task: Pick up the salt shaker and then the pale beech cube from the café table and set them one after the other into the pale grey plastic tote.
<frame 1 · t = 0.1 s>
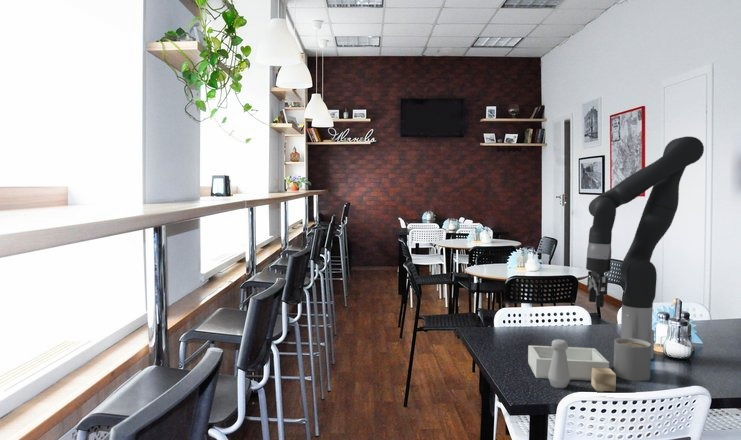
hand: (595, 304, 178), 17 cm above the table, tool pointing down, fingers open, 8 cm apart
tote: (566, 371, 161), on the table
coffee mug: (634, 374, 160), on the table
beech cube: (603, 388, 148), on the table
salt shaker: (558, 386, 149), on the table
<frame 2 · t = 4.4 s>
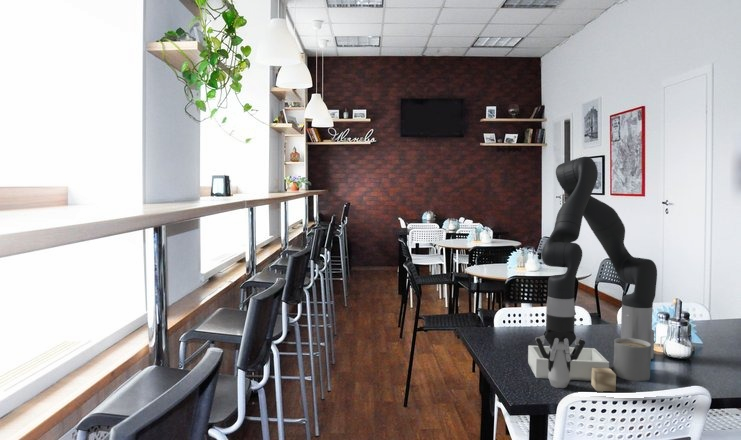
hand: (558, 373, 149), 4 cm above the table, tool pointing down, fingers closed on salt shaker, 3 cm apart
salt shaker: (558, 386, 149), on the table, touching gripper
everything else where it was.
when the fingers open (6 cm above the table, at t = 8.8 s): salt shaker drops 1 cm, resting on tote.
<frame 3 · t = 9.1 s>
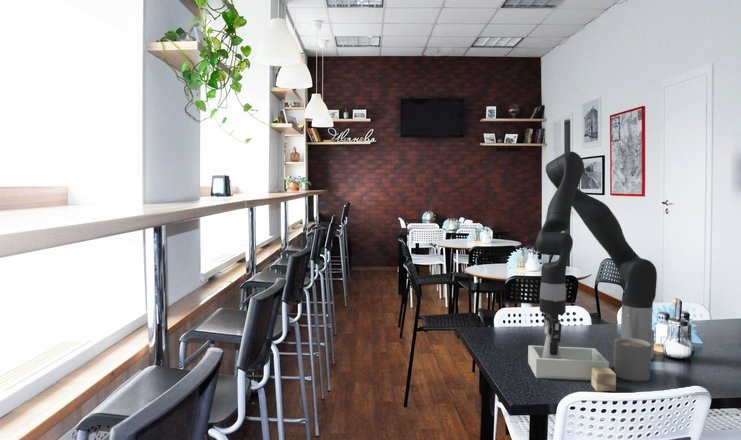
hand: (551, 351, 162), 6 cm above the table, tool pointing down, fingers open, 5 cm apart
salt shaker: (551, 369, 162), resting on tote
everything else where it was.
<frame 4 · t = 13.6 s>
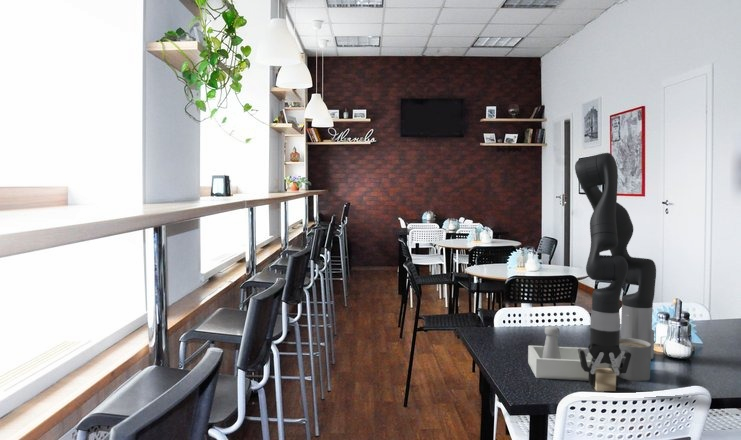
hand: (603, 386, 148), 0 cm above the table, tool pointing down, fingers closed on beech cube, 5 cm apart
beech cube: (603, 388, 148), on the table, touching gripper
everything else where it was.
when the fingers open (3 cm above the table, at t = 18.9 s): beech cube drops 2 cm, resting on tote.
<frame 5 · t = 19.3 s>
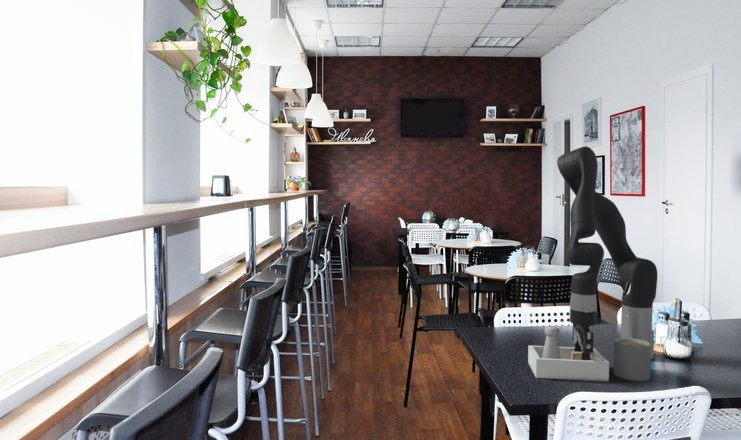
hand: (581, 360, 161), 4 cm above the table, tool pointing down, fingers open, 8 cm apart
beech cube: (581, 370, 161), point 1 cm above the table, touching tote
everything else where it was.
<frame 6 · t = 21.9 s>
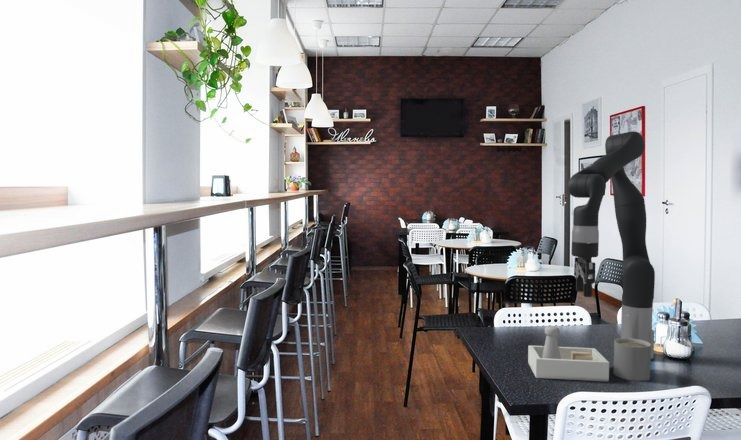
hand: (583, 293, 160), 24 cm above the table, tool pointing down, fingers open, 8 cm apart
nothing on the table moved.
at the end: salt shaker inside the target area on the tote (4.4 cm from its centre), point 0.4 cm above the tote's base; beech cube inside the target area on the tote (4.5 cm from its centre), point 0.6 cm above the tote's base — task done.
